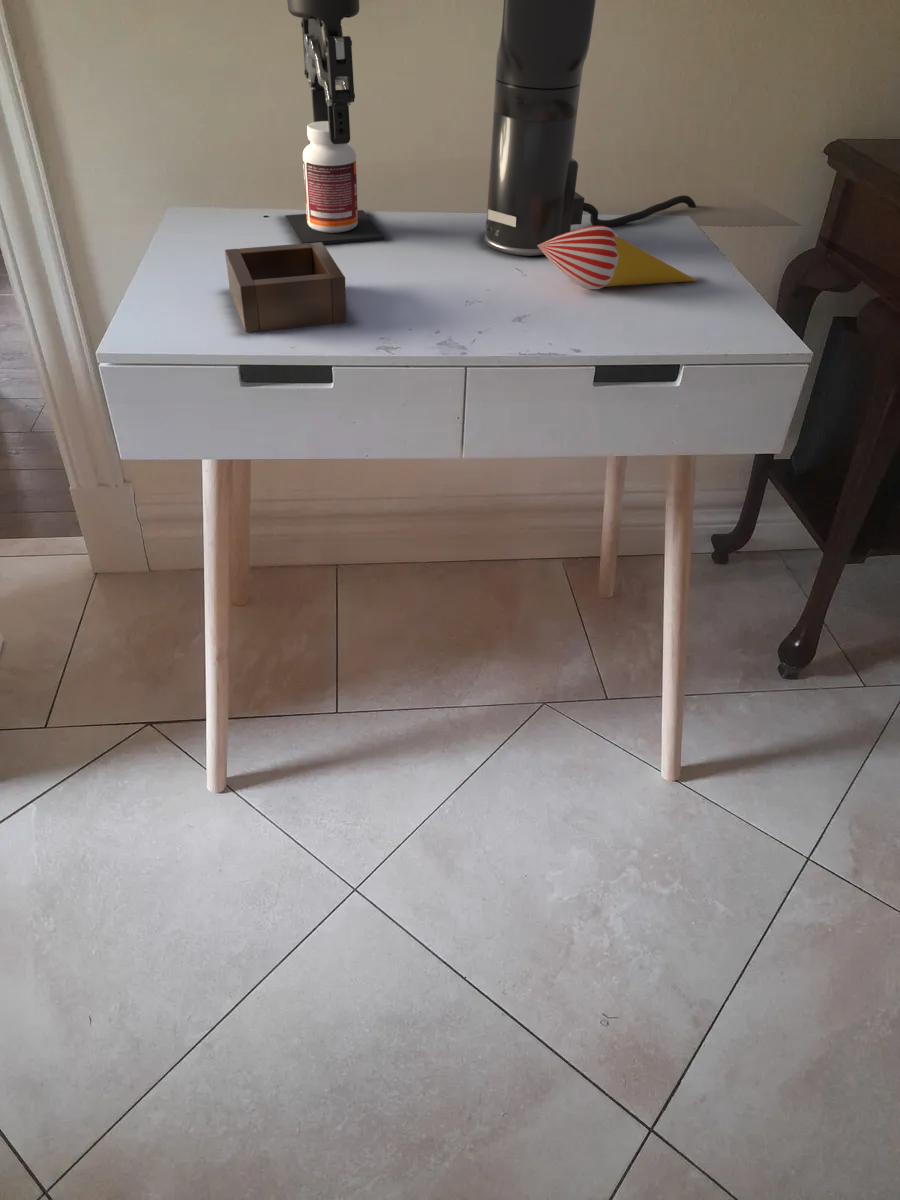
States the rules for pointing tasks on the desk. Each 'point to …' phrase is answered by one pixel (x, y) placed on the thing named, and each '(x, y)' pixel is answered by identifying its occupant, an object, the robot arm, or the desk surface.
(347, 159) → the pill bottle
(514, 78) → the robot arm
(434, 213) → the desk surface
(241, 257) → the holder
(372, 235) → the coaster
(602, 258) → the ice cream cone
